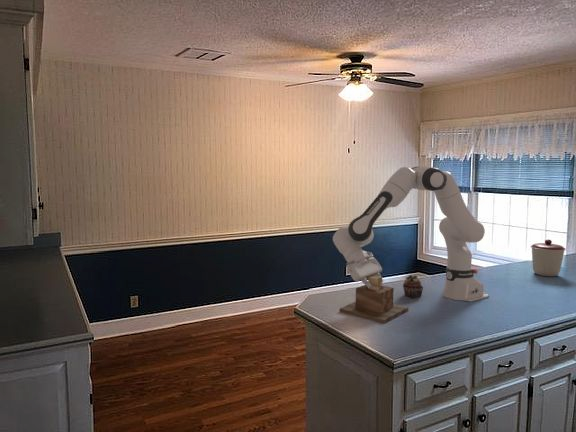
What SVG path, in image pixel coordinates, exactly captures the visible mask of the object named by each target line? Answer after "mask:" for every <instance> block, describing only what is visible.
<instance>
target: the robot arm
mask: <svg viewBox="0 0 576 432" xmlns="http://www.w3.org/2000/svg"><path fill="white" fill-rule="evenodd" d="M413 189H415V190H419V191H430V192H433V193H434V195H435V198H436V201H437V203H438V205H439V208H440V211H441V213H442V214H443V215H444V216H445V217H444V218H442V219H441V220H440V222H439V226H438V229H439V232H440V234H441V236H442V237H443V239H444V242H445V245H446V246H445V247H446V251H447V263H446V265H447V266H446V267H445V281H444V287H443V289H442V290H443V291H442V294H441V295H442V297H444V298H446V299H450V300H454V301H455V300H456V301H465V302H470V303H471V302H475V301H478V300H483V299H486V298H489V297H490V296H489V294H488V293H486V292H485V290H484V289H485V288H484V284H483V283H482V282H481V281H480V280H478V278H476V277H475V275H478V272H479V271H478V270H477V269H472V260H473V259H472V258H473V257H472V256H473V254H472V251H471V250H470V249H469V247H468V246H467V243H473V244H474V243H479V242H480V241H482V240H483V239H484V236H485V234H486V233H485V232H486V231H485V229H486V228H485V226H484V225H483V224H482V223H481V222H479V220H477V218H475V217H474V215H473V214H472V213H471V211H470V210H469V208H468V207H467V205H466V203H465V200H464V198H463V195H462V193H461V191H460V190H461V189H460V188H459V185H458V183H457V182H456V179H455V178H454V176H453V175H452V174H451V172H449V171H442V170H441V169H440V168H437V167H433V166H426V165H425V166H414V167H411V168H410V167H409V166H408V167H407V166H402V167H400V168H398V169H397V170H396V171H395V172H394V173H393V174H392V175H391V176H390V177H389V178H388V180H387V181H386V183H385V184H383V187H381V189H380V192H379V193H378V195H377V196H376V197H375V198H374V200H373V201H372V202H371V203H370V204H369V206H367V208H366V209H365V211H364V212H363V213H362V214H360V215H359V216H357V217H356V218H354V219H352V220H351V221H350V222H349V225H348V226H346V227H343V226H342V227H340V228H337V230H336V231H335V232H334V234H333V236H332V242H333V244H334V246H335V247H336V249H337V250H338V252H339V253H340V254H341V255H343V258H344V259H345V261H346V268H347V272H348V273H349V275H350V277H351V279H353V281H354V282H356V283H357V282H361V283H363V285H367V287H368V288H370V287H371V286H372V284H371V282H369V281H368V277H370V276H372V275H375V276H381V272H383V267H382V266H381V264H380V263H379V261H378V260H377V259H376V258H375V257H374V254H373V253H372V252H370V251H366V250H363V248H364V247H366V246H367V245H369V244H371V242H373V240H374V238H375V233H374V230H373V226H374V224H375V222H377V220H378V219H379V218H380V216H382V214H383V213H384V211H386V210H387V209H390V208H396V207H398V206H399V205H400V204H401V203H402V202H403V201H404V200H406V198H407V196H408V195H409V194H410V192H411V191H412V190H413ZM474 274H475V275H474ZM381 277H382V276H381ZM383 282H384V279H382V283H383Z"/></svg>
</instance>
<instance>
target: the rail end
mask: <svg viewBox="0 0 576 432" xmlns="http://www.w3.org/2000/svg"><path fill="white" fill-rule="evenodd" d="M367 280H368V281H369V282H371V284H372V286H371V287H370V288H368V289H371V290H376V291H378V290H380V289H382V286H383V282H382V280H383V276H375V275H372V276H370V277H368V278H367Z"/></svg>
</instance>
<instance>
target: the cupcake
mask: <svg viewBox="0 0 576 432" xmlns="http://www.w3.org/2000/svg"><path fill="white" fill-rule="evenodd" d="M403 282H404V283H403V284H402V287H403V293H404V297H405V298H409V299H419V298H421V297H422V295H423V291H424V290H423V289H424V286H423V285H422V282H421V281H420V278H418V277H417V276H416V275H415V276H413V275H412V274H410V275H408V276H407V277H406V278H405V280H404V281H403Z"/></svg>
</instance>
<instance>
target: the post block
mask: <svg viewBox="0 0 576 432" xmlns="http://www.w3.org/2000/svg"><path fill="white" fill-rule="evenodd" d="M394 289H395V288H394V287H393V286H392V287H391V286H386V285H382V289H380V290H378V291H376V290H371V289H368V287H367V285H365V284H363V285H361V286H359V287H357V288H355V301H354V302H351V303H349V304H347V305H344V306H343V307H340V308H339V313H343V314H346V315H350V316H353V317H354V316H355V317H358V318H361V319H365V320H370V321H373V322H377V323H382V324H386V323H388V322H390V321H391V320H393V319H395V318H397V317H400V316H401V315H403V314H404V313H406V312H409V306H405V305H400V304H396V303H394Z"/></svg>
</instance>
